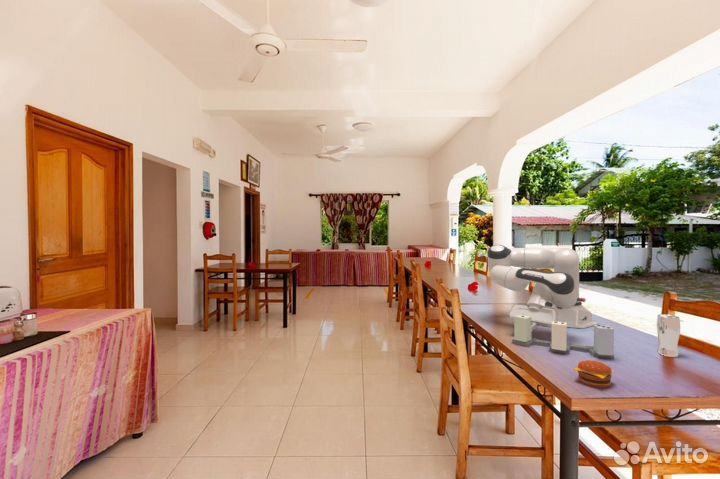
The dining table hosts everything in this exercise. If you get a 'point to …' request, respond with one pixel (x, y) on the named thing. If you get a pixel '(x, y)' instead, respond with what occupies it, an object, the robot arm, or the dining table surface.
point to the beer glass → (668, 334)
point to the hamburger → (594, 374)
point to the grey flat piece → (569, 347)
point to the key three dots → (603, 340)
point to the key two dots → (559, 335)
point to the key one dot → (522, 328)
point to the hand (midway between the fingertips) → (527, 331)
